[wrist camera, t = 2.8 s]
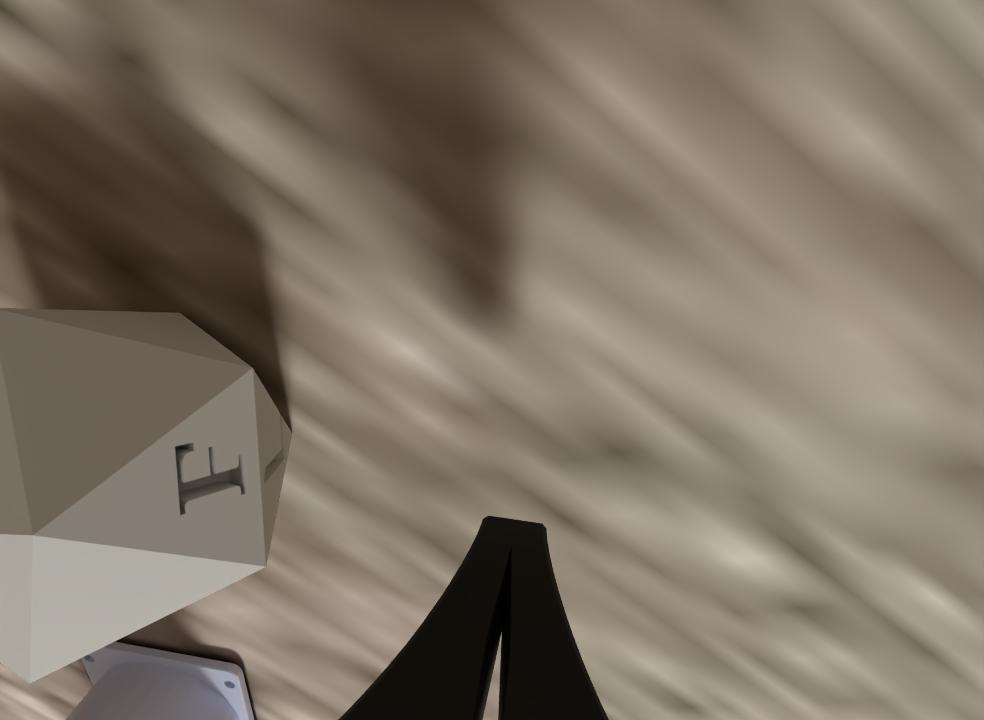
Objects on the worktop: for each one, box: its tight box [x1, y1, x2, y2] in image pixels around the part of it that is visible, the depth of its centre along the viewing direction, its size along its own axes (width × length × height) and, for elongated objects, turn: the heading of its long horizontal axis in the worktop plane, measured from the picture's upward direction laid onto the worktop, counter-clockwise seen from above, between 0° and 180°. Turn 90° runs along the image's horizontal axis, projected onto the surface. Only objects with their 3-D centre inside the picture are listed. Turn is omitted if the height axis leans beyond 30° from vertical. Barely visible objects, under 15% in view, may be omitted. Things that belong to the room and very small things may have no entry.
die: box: [0, 308, 292, 683], centre depth 13 cm, size 8×9×10 cm
